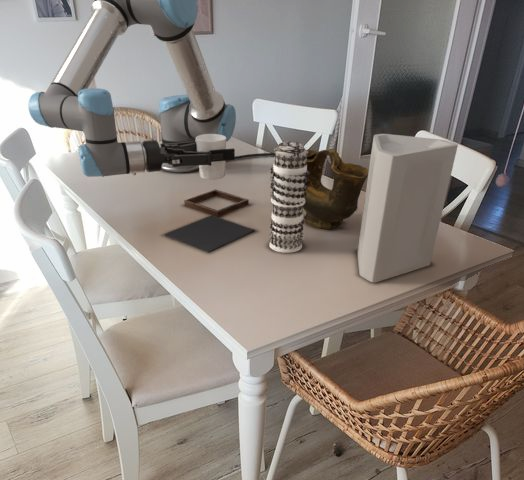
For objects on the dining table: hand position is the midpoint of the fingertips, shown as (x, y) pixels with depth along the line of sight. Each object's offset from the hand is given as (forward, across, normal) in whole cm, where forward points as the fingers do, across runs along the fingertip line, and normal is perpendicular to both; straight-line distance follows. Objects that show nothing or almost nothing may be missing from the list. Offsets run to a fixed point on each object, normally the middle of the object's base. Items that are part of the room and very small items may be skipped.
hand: (228, 150), depth 138 cm
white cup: (-5, 0, -7) cm, 8 cm away
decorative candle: (+7, +24, -18) cm, 31 cm away
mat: (-9, +10, -18) cm, 23 cm away
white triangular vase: (+25, +40, -18) cm, 51 cm away
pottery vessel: (+23, +13, -18) cm, 32 cm away
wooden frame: (-1, -9, -18) cm, 20 cm away
